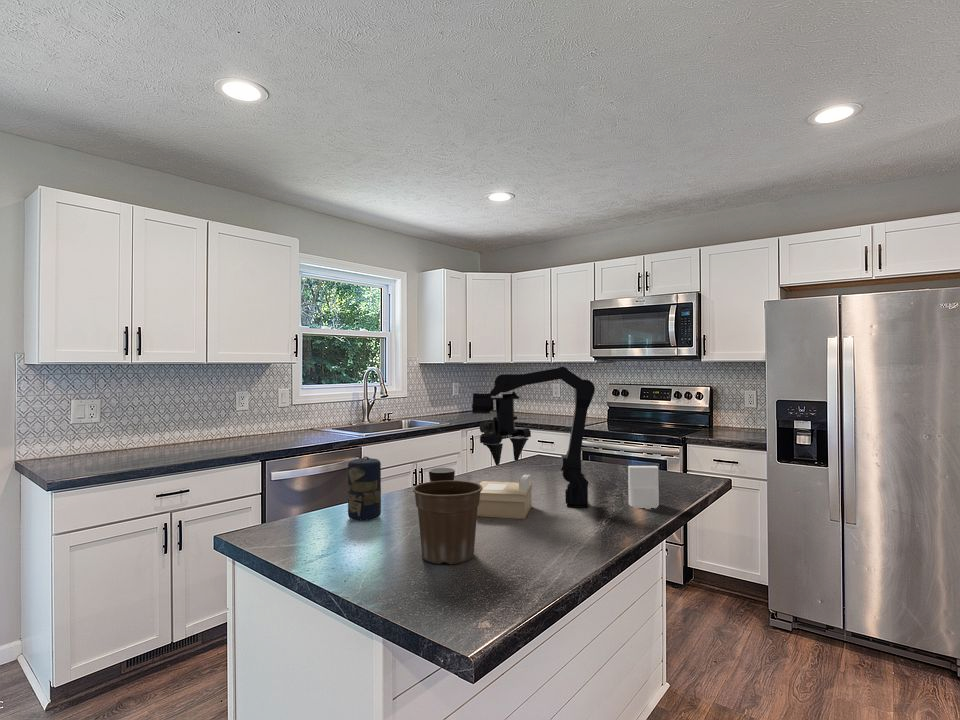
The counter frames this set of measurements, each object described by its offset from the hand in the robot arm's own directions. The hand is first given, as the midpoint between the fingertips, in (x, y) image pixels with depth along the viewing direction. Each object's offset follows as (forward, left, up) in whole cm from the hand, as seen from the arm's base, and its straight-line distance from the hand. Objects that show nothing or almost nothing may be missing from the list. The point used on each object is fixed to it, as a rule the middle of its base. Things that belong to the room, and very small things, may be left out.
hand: (506, 462), depth 172 cm
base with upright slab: (-42, -7, -14) cm, 44 cm away
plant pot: (+5, +48, -14) cm, 50 cm away
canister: (+38, +23, -14) cm, 46 cm away
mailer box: (0, +8, -13) cm, 15 cm away
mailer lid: (0, +8, -8) cm, 11 cm away
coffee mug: (+22, -2, -14) cm, 26 cm away
